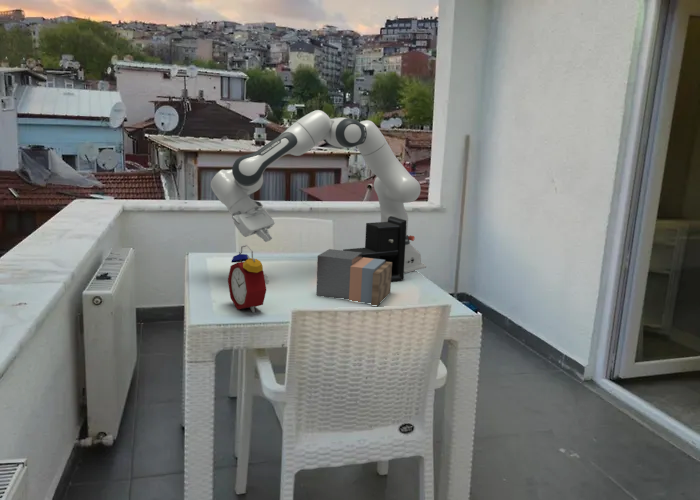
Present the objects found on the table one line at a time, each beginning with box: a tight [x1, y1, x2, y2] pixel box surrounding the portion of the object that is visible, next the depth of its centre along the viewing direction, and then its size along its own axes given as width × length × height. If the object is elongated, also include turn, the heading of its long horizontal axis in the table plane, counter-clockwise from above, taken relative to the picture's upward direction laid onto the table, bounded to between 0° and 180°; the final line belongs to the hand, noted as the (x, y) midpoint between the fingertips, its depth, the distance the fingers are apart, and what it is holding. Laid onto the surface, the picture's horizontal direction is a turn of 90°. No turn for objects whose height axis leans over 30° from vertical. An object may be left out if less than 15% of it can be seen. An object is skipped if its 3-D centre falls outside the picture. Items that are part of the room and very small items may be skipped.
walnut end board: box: [371, 262, 392, 306], centre depth 190 cm, size 18×2×11 cm, turn 162°
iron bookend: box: [315, 248, 362, 299], centre depth 194 cm, size 12×12×14 cm
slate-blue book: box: [361, 259, 385, 303], centre depth 191 cm, size 15×4×12 cm, turn 163°
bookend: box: [342, 216, 407, 283], centre depth 213 cm, size 23×11×24 cm, turn 118°
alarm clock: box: [227, 244, 270, 314], centre depth 174 cm, size 15×9×20 cm, turn 35°
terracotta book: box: [348, 257, 373, 302], centre depth 192 cm, size 15×4×12 cm, turn 163°
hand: (269, 240), depth 199 cm, fingers closed
